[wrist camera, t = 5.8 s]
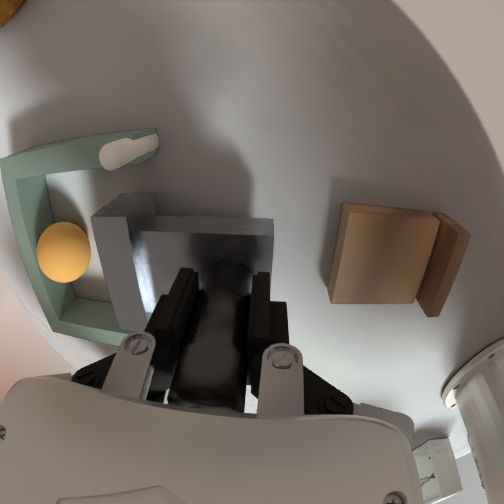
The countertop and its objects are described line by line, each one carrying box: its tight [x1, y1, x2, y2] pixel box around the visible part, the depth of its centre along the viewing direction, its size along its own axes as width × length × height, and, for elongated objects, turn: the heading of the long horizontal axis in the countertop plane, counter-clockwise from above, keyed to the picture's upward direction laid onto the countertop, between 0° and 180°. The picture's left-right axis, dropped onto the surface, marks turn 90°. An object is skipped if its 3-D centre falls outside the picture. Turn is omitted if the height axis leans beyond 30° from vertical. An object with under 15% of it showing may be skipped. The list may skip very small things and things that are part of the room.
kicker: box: [91, 193, 274, 413], centre depth 12 cm, size 8×7×10 cm
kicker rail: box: [327, 203, 470, 317], centre depth 16 cm, size 8×6×3 cm
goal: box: [0, 128, 159, 346], centre depth 16 cm, size 11×14×4 cm
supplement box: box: [412, 438, 462, 504], centre depth 30 cm, size 7×7×13 cm
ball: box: [37, 222, 91, 283], centre depth 16 cm, size 4×4×4 cm
